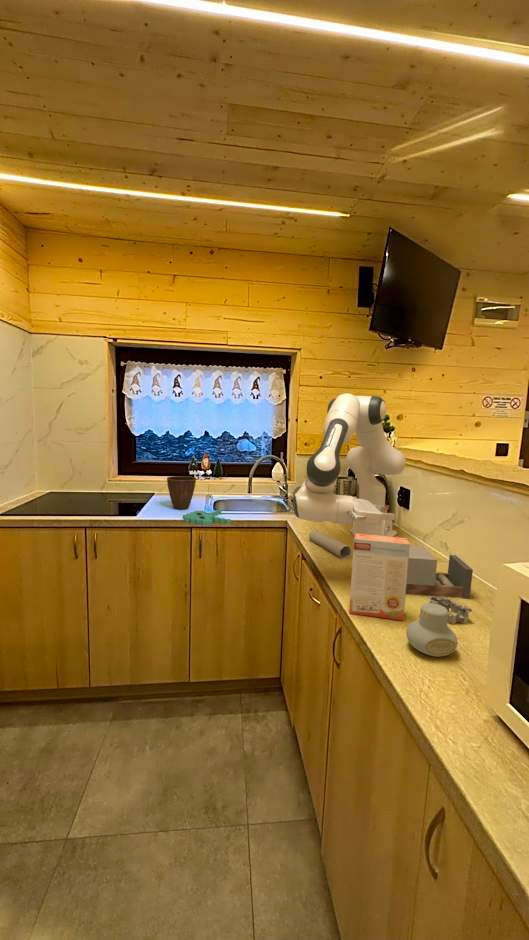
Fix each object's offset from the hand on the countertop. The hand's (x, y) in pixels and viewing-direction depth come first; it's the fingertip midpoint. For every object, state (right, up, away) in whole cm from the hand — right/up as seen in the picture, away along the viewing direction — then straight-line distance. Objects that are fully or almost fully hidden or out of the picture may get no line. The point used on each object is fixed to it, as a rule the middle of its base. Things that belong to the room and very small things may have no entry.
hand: (390, 513), depth 131 cm
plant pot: (-83, -7, +92) cm, 124 cm away
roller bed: (+12, -24, +2) cm, 27 cm away
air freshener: (-1, -28, -33) cm, 44 cm away
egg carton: (+11, -26, -15) cm, 32 cm away
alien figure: (-67, -11, +73) cm, 99 cm away
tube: (-14, -18, +37) cm, 44 cm away
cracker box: (-9, -25, -16) cm, 31 cm away
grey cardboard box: (+7, -20, +2) cm, 21 cm away
